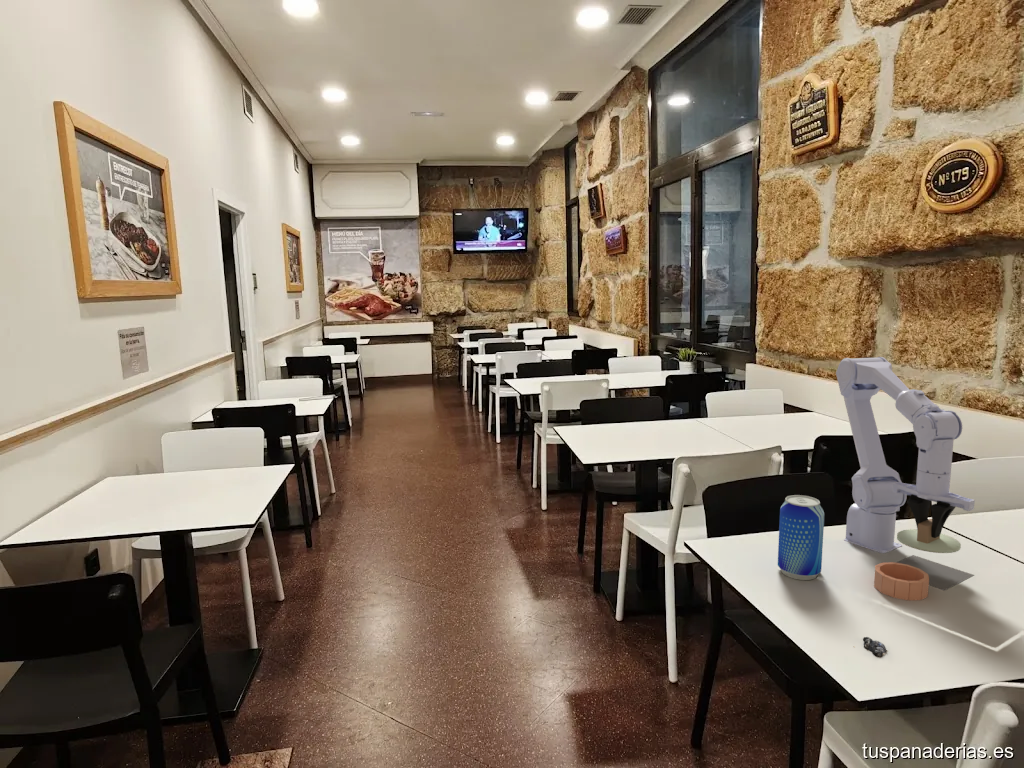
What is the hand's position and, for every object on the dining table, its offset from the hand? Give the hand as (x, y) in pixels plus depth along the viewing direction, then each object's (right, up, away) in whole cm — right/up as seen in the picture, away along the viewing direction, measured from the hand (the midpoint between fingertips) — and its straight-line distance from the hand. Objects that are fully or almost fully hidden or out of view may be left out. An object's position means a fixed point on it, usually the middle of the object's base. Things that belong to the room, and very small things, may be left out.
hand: (928, 534), depth 132 cm
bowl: (-9, -10, -5) cm, 14 cm away
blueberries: (-25, -14, -24) cm, 38 cm away
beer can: (-25, -9, +4) cm, 27 cm away
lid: (0, -2, 0) cm, 2 cm away
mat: (+1, -9, +2) cm, 9 cm away
